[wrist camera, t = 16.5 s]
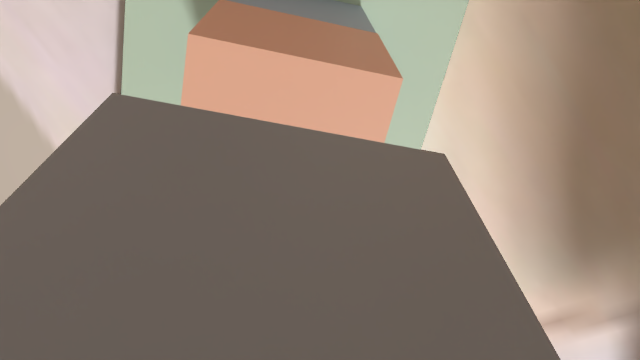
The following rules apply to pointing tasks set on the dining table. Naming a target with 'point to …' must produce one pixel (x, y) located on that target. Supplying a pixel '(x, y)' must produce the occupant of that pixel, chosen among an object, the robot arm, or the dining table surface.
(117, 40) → the dining table surface
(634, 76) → the dining table surface
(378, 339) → the gray cube
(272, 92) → the brick
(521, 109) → the dining table surface
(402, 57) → the board
